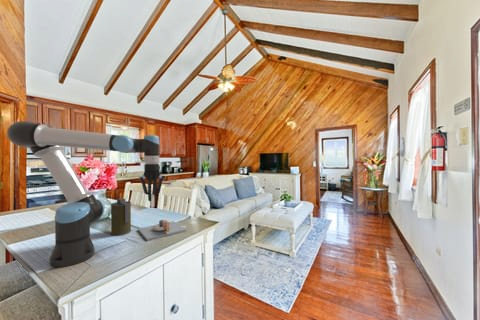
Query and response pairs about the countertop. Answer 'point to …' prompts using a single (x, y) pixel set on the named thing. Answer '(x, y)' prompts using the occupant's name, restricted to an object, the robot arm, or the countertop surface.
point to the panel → (151, 235)
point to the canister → (120, 217)
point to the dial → (162, 226)
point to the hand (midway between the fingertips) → (152, 206)
